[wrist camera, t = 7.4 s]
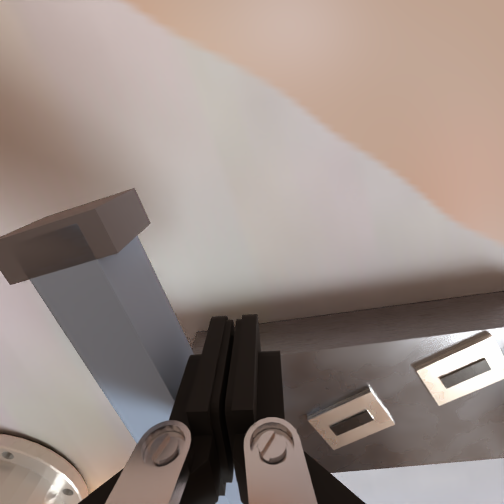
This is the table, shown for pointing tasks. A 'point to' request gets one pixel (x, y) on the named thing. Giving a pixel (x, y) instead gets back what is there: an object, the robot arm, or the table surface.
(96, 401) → the table surface
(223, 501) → the bar
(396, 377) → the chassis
